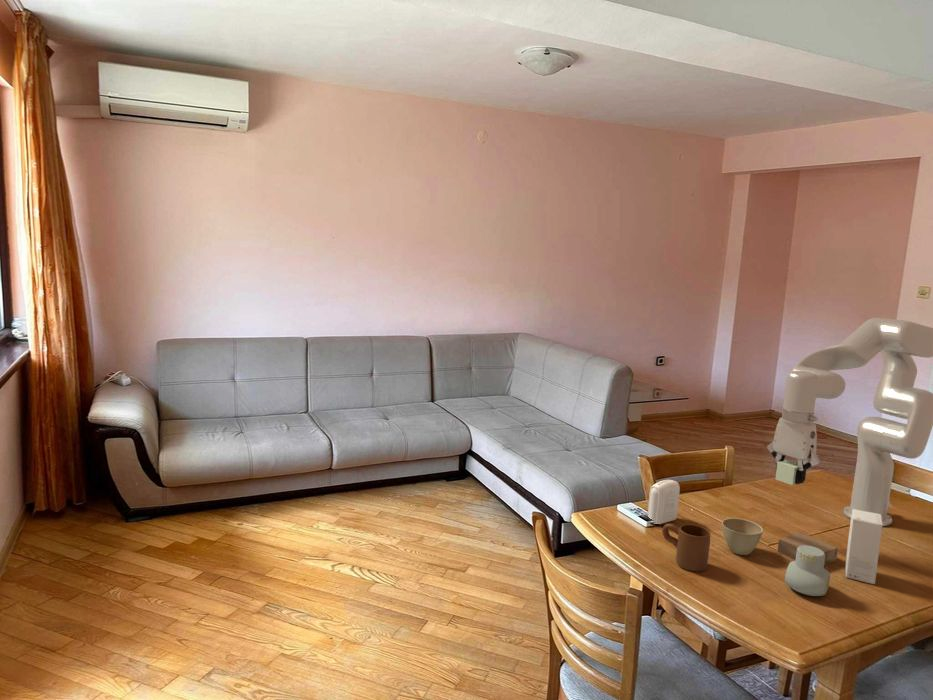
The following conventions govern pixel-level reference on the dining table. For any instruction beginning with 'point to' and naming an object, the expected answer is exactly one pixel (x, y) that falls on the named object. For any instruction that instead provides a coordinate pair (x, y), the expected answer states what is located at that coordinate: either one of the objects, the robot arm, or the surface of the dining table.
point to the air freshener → (808, 572)
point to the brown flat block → (792, 542)
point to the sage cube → (787, 471)
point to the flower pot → (741, 535)
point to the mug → (690, 545)
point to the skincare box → (863, 546)
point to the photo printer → (663, 501)
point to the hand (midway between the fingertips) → (789, 479)
